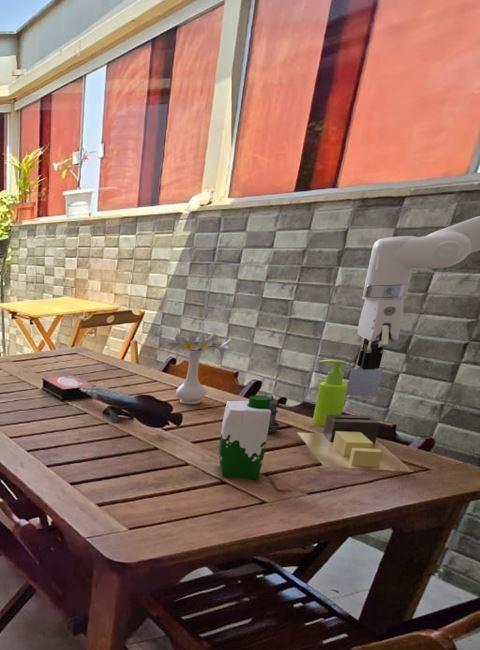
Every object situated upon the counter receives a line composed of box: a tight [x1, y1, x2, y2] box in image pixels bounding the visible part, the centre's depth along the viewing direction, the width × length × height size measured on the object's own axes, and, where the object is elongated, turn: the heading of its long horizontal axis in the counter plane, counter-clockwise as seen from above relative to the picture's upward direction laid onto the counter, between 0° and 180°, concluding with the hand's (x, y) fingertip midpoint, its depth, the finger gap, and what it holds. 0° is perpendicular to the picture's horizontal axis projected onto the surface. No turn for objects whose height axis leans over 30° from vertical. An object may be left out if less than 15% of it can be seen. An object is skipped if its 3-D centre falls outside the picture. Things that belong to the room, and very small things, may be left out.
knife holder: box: [322, 414, 381, 444], centre depth 131 cm, size 9×6×6 cm, turn 64°
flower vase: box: [167, 331, 232, 405], centre depth 173 cm, size 13×18×25 cm
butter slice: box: [349, 448, 383, 467], centre depth 118 cm, size 5×2×4 cm, turn 64°
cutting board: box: [297, 432, 414, 473], centre depth 127 cm, size 16×24×1 cm, turn 154°
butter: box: [333, 431, 373, 457], centre depth 125 cm, size 5×8×4 cm, turn 154°
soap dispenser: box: [311, 358, 348, 428], centre depth 141 cm, size 6×7×20 cm
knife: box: [345, 344, 384, 397], centre depth 123 cm, size 6×2×13 cm, turn 65°
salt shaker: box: [268, 395, 281, 434], centre depth 141 cm, size 6×6×12 cm
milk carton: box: [218, 394, 271, 481], centre depth 121 cm, size 9×9×20 cm
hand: (367, 366), depth 123 cm, fingers closed on knife, 2 cm apart
